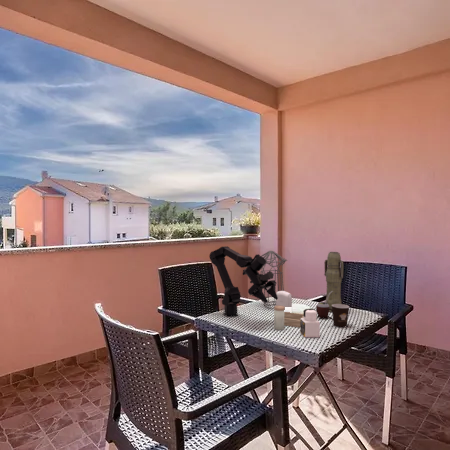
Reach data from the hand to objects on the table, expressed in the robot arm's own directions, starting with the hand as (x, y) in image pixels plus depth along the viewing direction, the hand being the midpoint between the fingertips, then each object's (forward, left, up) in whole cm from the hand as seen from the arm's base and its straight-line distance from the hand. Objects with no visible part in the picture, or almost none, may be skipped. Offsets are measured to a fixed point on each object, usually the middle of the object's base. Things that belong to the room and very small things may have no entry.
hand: (272, 300), depth 181 cm
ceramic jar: (+2, -4, -13) cm, 14 cm away
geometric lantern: (+22, +35, -13) cm, 43 cm away
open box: (+14, +2, -13) cm, 19 cm away
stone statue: (+51, +12, -13) cm, 54 cm away
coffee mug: (+33, -11, -13) cm, 37 cm away
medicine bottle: (+10, -18, -13) cm, 24 cm away
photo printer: (+22, +21, -13) cm, 33 cm away
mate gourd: (+36, +3, -13) cm, 38 cm away
